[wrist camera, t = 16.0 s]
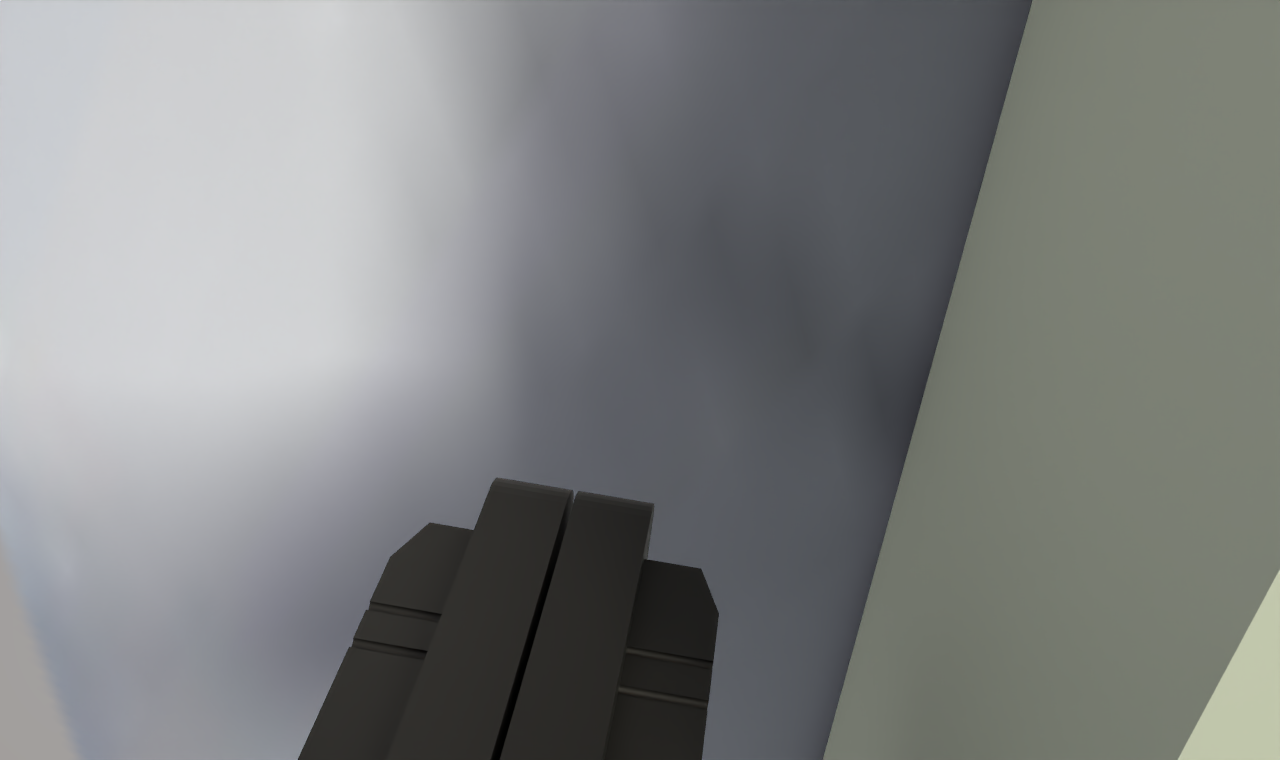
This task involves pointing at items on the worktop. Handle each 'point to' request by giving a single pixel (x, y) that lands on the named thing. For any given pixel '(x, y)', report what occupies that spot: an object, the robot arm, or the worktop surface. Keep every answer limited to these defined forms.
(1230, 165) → the tray
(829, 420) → the worktop surface
